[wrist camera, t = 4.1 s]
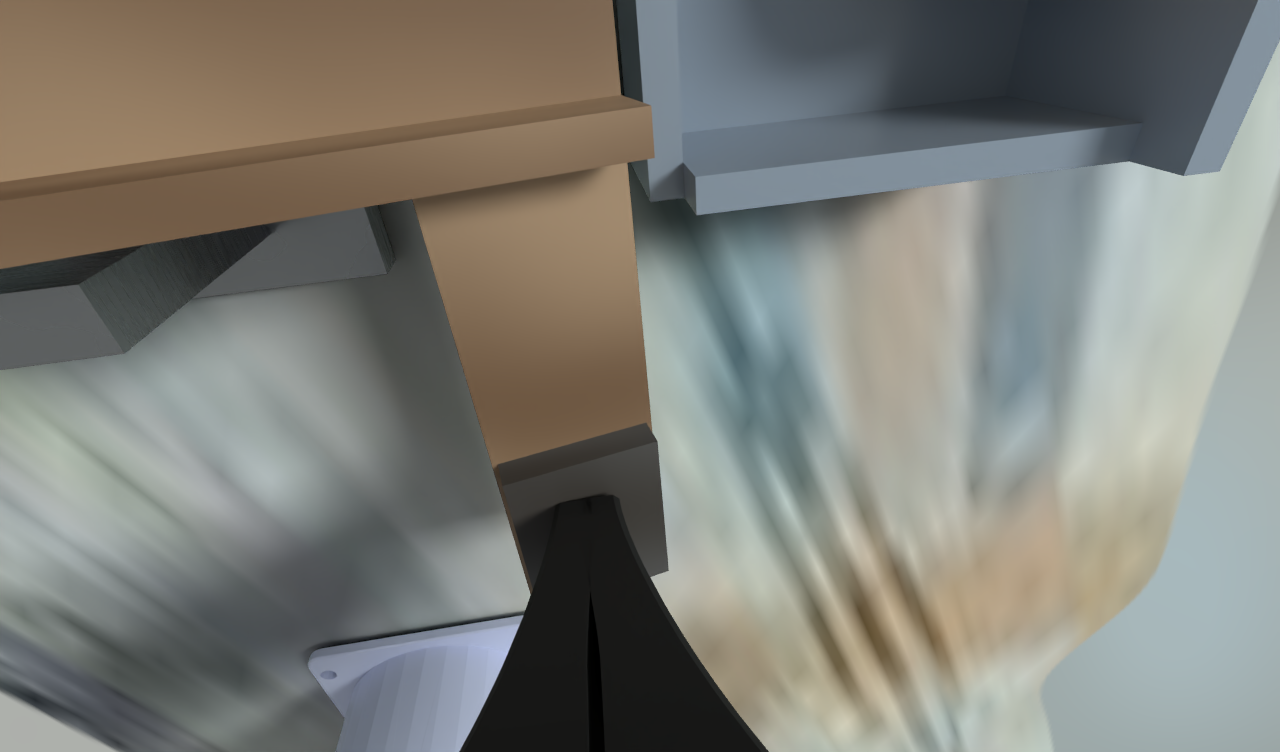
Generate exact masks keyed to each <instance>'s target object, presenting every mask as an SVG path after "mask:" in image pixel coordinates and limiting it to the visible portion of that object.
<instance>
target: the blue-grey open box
mask: <svg viewBox="0 0 1280 752" xmlns="http://www.w3.org/2000/svg"><path fill="white" fill-rule="evenodd" d="M616 4H617V15H618V26H619V37H620V48H621V60H622V71H623V82H624V93H625V96H626V97H629V98H631V99H634V100H637V101H640V102H643V103H646V104H649V105H651V108H652V123H653V138H654V153H655V158H652V159H646V160H640V161H634V162H631V164H632V166H633V168H634V170H635V172H636V174H637V176H638V178H639V180H640V182H641V184H642V186H643V188H644V190H645V192H646V194H647V196H648V198H649V200H650V202H655V201H663V200H671V199H679V198H685V199H686V201H687V202H688V204H689V205H690V206H691V208H692V209H693V211H694V212H695V214H696V215H703V214H711V213H719V212H727V211H735V210H743V209H751V208H759V207H767V206H775V205H783V204H791V203H799V202H807V201H815V200H823V199H831V198H839V197H847V196H855V195H863V194H871V193H879V192H887V191H895V190H903V189H911V188H919V187H927V186H935V185H943V184H951V183H959V182H967V181H975V180H983V179H991V178H999V177H1007V176H1015V175H1023V174H1031V173H1039V172H1047V171H1055V170H1063V169H1071V168H1079V167H1087V166H1095V165H1103V164H1111V163H1119V162H1127V161H1130V162H1134V163H1138V164H1141V165H1145V166H1149V167H1152V168H1156V169H1160V170H1164V171H1167V172H1171V173H1175V174H1178V175H1182V176H1187V175H1195V174H1202V173H1210V172H1218V171H1220V170H1221V168H1222V165H1223V163H1224V161H1225V159H1226V157H1227V154H1228V152H1229V150H1230V148H1231V146H1232V143H1233V141H1234V139H1235V137H1236V135H1237V132H1238V130H1239V128H1240V126H1241V124H1242V122H1243V119H1244V117H1245V115H1246V113H1247V111H1248V108H1249V106H1250V104H1251V102H1252V100H1253V97H1254V95H1255V93H1256V91H1257V89H1258V86H1259V84H1260V82H1261V80H1262V78H1263V76H1264V73H1265V71H1266V69H1267V67H1268V65H1269V62H1270V60H1271V58H1272V56H1273V54H1274V51H1275V49H1276V47H1277V45H1278V43H1279V40H1280V0H616Z"/></svg>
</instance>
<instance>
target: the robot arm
mask: <svg viewBox="0 0 1280 752" xmlns="http://www.w3.org/2000/svg"><path fill="white" fill-rule="evenodd" d="M307 666H308V668H309V670H310V671H311V673H312V674H313V675H314V677H315V678H316V680H317V681H318V682H319V684H320V685H321V686H322V688H323V689H324V691H325V692H326V693H327V695H328V696H329V698H330V699H331V700H332V702H333V703H334V705H335V706H336V707H337V709H338V710H339V711H340V713H341V714H342V716H343V717H344V718H345V720H344V723H343V727H342V730H341V734H340V737H339V741H338V744H337V747H336V751H335V752H769V751H768V750H767V749H766V748H765V747H764V745H763V744H762V743H761V742H760V740H759V739H758V738H757V737H756V735H755V734H754V733H753V732H752V730H751V729H750V728H749V727H748V726H747V724H746V723H745V722H744V721H743V719H742V718H741V717H740V716H739V714H738V713H737V712H736V710H735V709H734V708H733V706H732V705H731V703H730V702H729V701H728V699H727V698H726V697H725V695H724V694H723V693H722V691H721V690H720V689H719V687H718V686H717V684H716V683H715V682H714V680H713V679H712V677H711V676H710V674H709V673H708V672H707V670H706V669H705V667H704V666H703V664H702V663H701V662H700V660H699V659H698V657H697V656H696V654H695V653H694V651H693V649H692V648H691V646H690V645H689V643H688V642H687V640H686V639H685V637H684V635H683V634H682V632H681V631H680V629H679V627H678V626H677V624H676V622H675V621H674V619H673V617H672V616H671V614H670V613H669V611H668V609H667V607H666V606H665V604H664V602H663V600H662V599H661V597H660V595H659V593H658V591H657V589H656V587H655V586H654V584H653V582H652V580H651V578H650V576H649V574H648V572H647V570H646V568H645V566H644V564H643V562H642V560H641V558H640V556H639V554H638V552H637V549H636V547H635V545H634V542H633V540H632V538H631V535H630V533H629V530H628V527H627V525H626V522H625V519H624V516H623V512H622V509H621V504H620V499H619V498H618V497H616V496H614V495H608V496H601V497H595V498H588V499H582V500H575V501H569V502H562V503H560V504H559V505H558V506H557V507H556V508H555V512H554V518H553V523H552V527H551V532H550V536H549V540H548V543H547V547H546V551H545V554H544V557H543V561H542V564H541V567H540V570H539V573H538V576H537V579H536V582H535V585H534V588H533V590H532V593H531V596H530V599H529V602H528V605H527V607H526V610H525V613H524V615H520V616H514V617H508V618H502V619H496V620H490V621H484V622H478V623H472V624H466V625H460V626H454V627H448V628H442V629H436V630H430V631H424V632H418V633H412V634H406V635H400V636H394V637H388V638H382V639H376V640H370V641H364V642H358V643H352V644H346V645H339V646H333V647H327V648H322V649H318V650H315V651H314V652H313V653H312V654H311V656H310V659H309V661H308V664H307Z"/></svg>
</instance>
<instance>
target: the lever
mask: <svg viewBox="0 0 1280 752" xmlns="http://www.w3.org/2000/svg"><path fill="white" fill-rule="evenodd" d="M652 158H655V153H654V138H653V123H652V108H651V105H649V104H646V103H643V102H640V101H637V100H634V99H631V98H629V97H626V96H623V95H621V88H620V78H619V67H618V56H617V45H616V34H615V23H614V13H613V2H612V0H0V269H3V268H9V267H15V266H21V265H27V264H33V263H38V262H44V261H50V260H56V259H62V258H68V257H74V256H80V255H86V254H92V253H97V252H103V251H109V250H115V249H121V248H127V247H133V246H139V245H145V244H151V243H156V242H162V241H168V240H174V239H180V238H186V237H192V236H198V235H204V234H210V233H215V232H221V231H227V230H233V229H239V228H245V227H251V226H257V225H263V224H269V223H274V222H280V221H286V220H292V219H298V218H304V217H310V216H316V215H322V214H328V213H333V212H339V211H345V210H351V209H357V208H363V207H369V206H375V205H381V204H386V203H392V202H398V201H404V200H410V199H412V201H413V204H414V207H415V211H416V214H417V217H418V221H419V224H420V227H421V231H422V234H423V237H424V241H425V244H426V247H427V251H428V254H429V257H430V261H431V264H432V267H433V271H434V274H435V277H436V281H437V284H438V287H439V291H440V294H441V297H442V301H443V304H444V307H445V310H446V314H447V317H448V320H449V324H450V327H451V330H452V334H453V337H454V340H455V344H456V347H457V350H458V354H459V357H460V360H461V364H462V367H463V370H464V374H465V377H466V380H467V384H468V387H469V390H470V394H471V397H472V400H473V404H474V407H475V410H476V414H477V417H478V420H479V424H480V427H481V430H482V434H483V437H484V440H485V444H486V447H487V450H488V454H489V457H490V460H491V464H492V467H493V470H494V474H495V477H496V480H497V484H498V487H499V490H500V494H501V497H502V500H503V504H504V507H505V510H506V514H507V517H508V520H509V524H510V527H511V530H512V534H513V537H514V540H515V544H516V547H517V550H518V554H519V557H520V560H521V564H522V567H523V570H524V574H525V577H526V580H527V584H528V587H529V590H530V594H531V593H532V590H533V588H534V585H535V582H536V579H537V576H538V573H539V570H540V567H541V564H542V561H543V557H544V554H545V551H546V547H547V543H548V540H549V536H550V532H551V527H552V523H553V518H554V512H555V508H556V507H557V506H558V505H559V504H560V503H562V502H569V501H575V500H582V499H588V498H595V497H601V496H608V495H614V496H616V497H618V498H619V499H620V504H621V509H622V512H623V516H624V519H625V522H626V525H627V527H628V530H629V533H630V535H631V538H632V540H633V542H634V545H635V547H636V549H637V552H638V554H639V556H640V558H641V560H642V562H643V564H644V566H645V568H646V570H647V572H648V574H649V576H650V577H652V576H655V575H657V574H660V573H663V572H666V571H669V570H668V558H667V547H666V535H665V524H664V512H663V501H662V489H661V478H660V466H659V455H658V443H657V440H656V438H655V436H654V435H653V433H652V425H651V414H650V403H649V392H648V381H647V370H646V360H645V349H644V338H643V327H642V316H641V305H640V294H639V284H638V273H637V262H636V251H635V240H634V229H633V219H632V208H631V197H630V186H629V175H628V164H627V163H628V162H634V161H640V160H646V159H652Z"/></svg>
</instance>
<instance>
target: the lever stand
mask: <svg viewBox="0 0 1280 752" xmlns="http://www.w3.org/2000/svg"><path fill="white" fill-rule="evenodd" d="M395 260H396V259H395V257H394V254H393V251H392V248H391V245H390V242H389V239H388V236H387V233H386V230H385V227H384V224H383V221H382V218H381V215H380V212H379V209H378V206H377V205H375V206H369V207H363V208H357V209H351V210H345V211H339V212H333V213H328V214H322V215H316V216H310V217H304V218H298V219H292V220H286V221H280V222H274V223H269V224H263V225H257V226H251V227H245V228H239V229H233V230H227V231H221V232H215V233H210V234H204V235H198V236H192V237H186V238H180V239H174V240H168V241H162V242H156V243H151V244H145V245H139V246H133V247H127V248H121V249H115V250H109V251H103V252H97V253H92V254H86V255H80V256H74V257H68V258H62V259H56V260H50V261H44V262H38V263H33V264H27V265H21V266H15V267H9V268H3V269H0V370H4V369H11V368H19V367H26V366H34V365H42V364H49V363H57V362H64V361H72V360H79V359H87V358H95V357H102V356H110V355H117V354H125V353H126V352H127V351H128V350H129V349H131V348H132V347H133V346H134V345H136V344H137V343H138V342H139V341H140V340H142V339H143V338H144V337H145V336H147V335H148V334H149V333H150V332H152V331H153V330H154V329H155V328H156V327H158V326H159V325H160V324H161V323H163V322H164V321H165V320H166V319H167V318H169V317H170V316H171V315H172V314H174V313H175V312H176V311H177V310H179V309H180V308H181V307H182V306H183V305H185V304H186V303H187V302H188V301H190V300H191V299H194V298H201V297H209V296H217V295H225V294H233V293H241V292H249V291H256V290H264V289H272V288H280V287H288V286H296V285H304V284H312V283H319V282H327V281H335V280H343V279H351V278H359V277H367V276H375V275H382V274H388V272H389V270H390V269H391V267H392V265H393V264H394V262H395Z"/></svg>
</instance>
